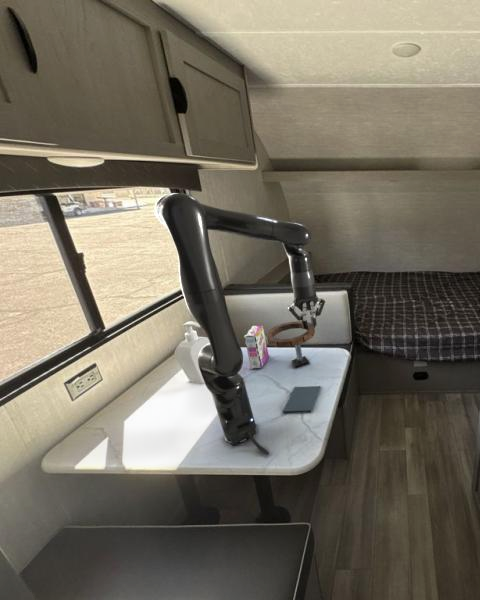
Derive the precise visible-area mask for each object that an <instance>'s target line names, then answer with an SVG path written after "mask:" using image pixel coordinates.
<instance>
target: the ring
mask: <svg viewBox="0 0 480 600" xmlns="http://www.w3.org/2000/svg"><path fill="white" fill-rule="evenodd" d="M307 323H308V330H306V331H305V332H304V333H302V334H300V335H298V336H294V337H291V338H277V337H275V336H276V335H278V334H280V333H281V332H284V331H288V330H295V329H301V330H305V329H304V328H303V325H302V320H300V321H298V320H296V321H288V322H284V323H280V324H279V325H275V326H274V327H271V328H269V329H268V331H267V332H266V333H265V340H266V344H267V346H271V347H274V348H291V347H295V345H298V344H300V345H301V344H304V343H307V342H308V341H309V340H311V339H312V338H313V337H314V336H315V333H316V329H315V328H316V327H315V328H314V326H313V325H312V324H311V322H308V321H307Z"/></svg>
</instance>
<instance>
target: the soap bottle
mask: <svg viewBox="0 0 480 600" xmlns="http://www.w3.org/2000/svg"><path fill="white" fill-rule="evenodd" d="M184 326H185V331H186V332H185V333H184V337H185V339H183V340H182V341H181V342H179V344H178V345H177V346H176V348H175V350H174V354H173V356H174V358H175V359H176V361H177V363H178V365H179V366H180V368H181V369H182V372H184V375H185V376H186V378H187V379H188V382H190V383H195V384H196V383H197V384H199V383H200V384H205V382H204V380H203V377H202V374H201V372H200V369H199V365H198V356H199V353H200V351H201V349H202V348H203V347H204V346H205V345H207V344H208V343H210V342H209V339H208V337H207V336H198V333H197V330H194V329H193V327H196V328H198V329H199V328H201V327H200V325H199V324H198V323H197V321H191V320H189V321H187V322H185V323H183V324H181V325H179V327H180V328H182V327H184Z"/></svg>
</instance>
